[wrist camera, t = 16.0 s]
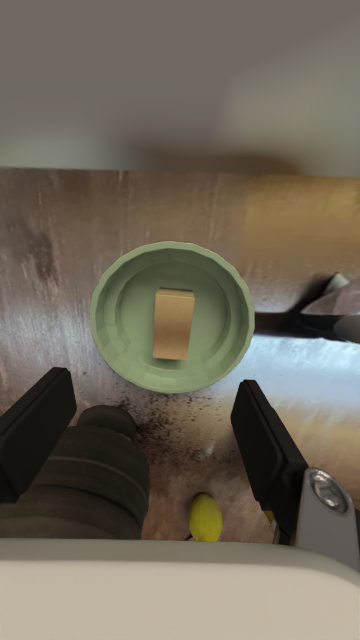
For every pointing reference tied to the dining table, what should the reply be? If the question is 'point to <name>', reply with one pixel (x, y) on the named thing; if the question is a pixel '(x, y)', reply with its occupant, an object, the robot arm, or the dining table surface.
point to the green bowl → (139, 309)
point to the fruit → (205, 519)
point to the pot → (86, 484)
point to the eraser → (172, 323)
